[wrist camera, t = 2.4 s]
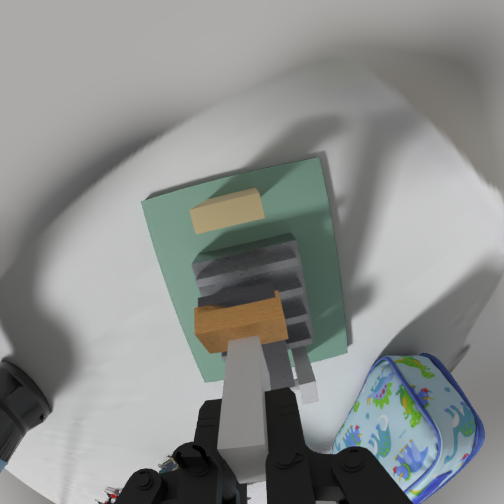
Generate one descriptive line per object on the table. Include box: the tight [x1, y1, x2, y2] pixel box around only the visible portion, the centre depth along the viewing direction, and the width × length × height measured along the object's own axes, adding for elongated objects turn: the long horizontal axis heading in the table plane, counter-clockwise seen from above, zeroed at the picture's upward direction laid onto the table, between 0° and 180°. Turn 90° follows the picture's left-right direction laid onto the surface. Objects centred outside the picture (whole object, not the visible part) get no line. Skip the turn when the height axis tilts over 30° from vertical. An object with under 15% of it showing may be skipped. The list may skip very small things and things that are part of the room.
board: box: [141, 157, 348, 405], centre depth 27 cm, size 19×24×10 cm
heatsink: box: [191, 233, 314, 362], centre depth 28 cm, size 10×11×6 cm
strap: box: [194, 282, 295, 390], centre depth 19 cm, size 4×16×2 cm, turn 13°
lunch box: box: [332, 353, 485, 504], centre depth 28 cm, size 26×11×21 cm, turn 172°
